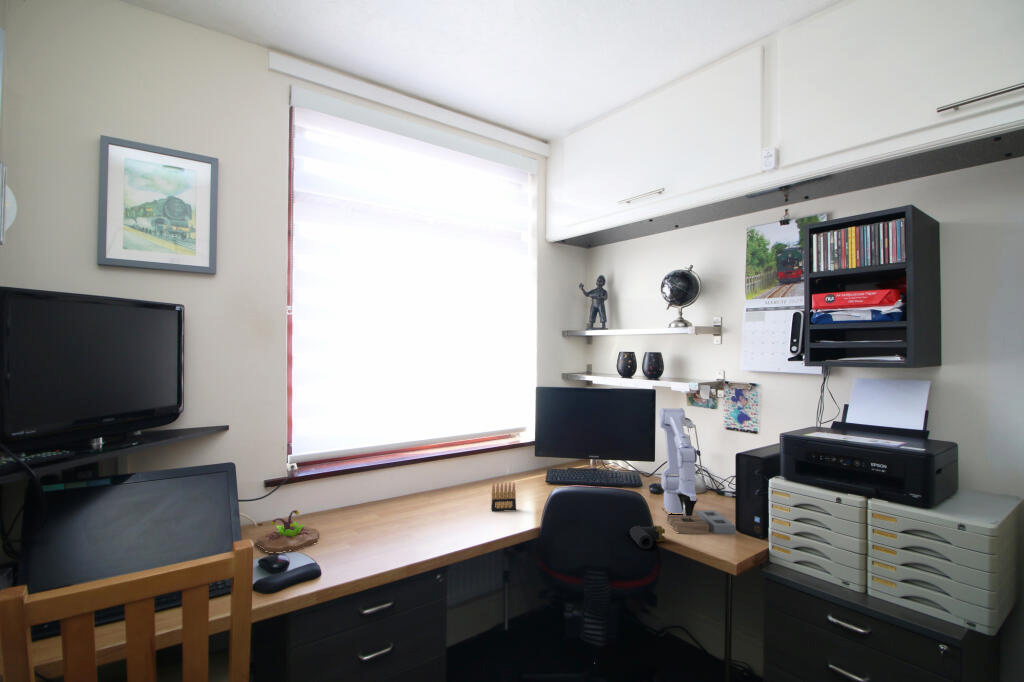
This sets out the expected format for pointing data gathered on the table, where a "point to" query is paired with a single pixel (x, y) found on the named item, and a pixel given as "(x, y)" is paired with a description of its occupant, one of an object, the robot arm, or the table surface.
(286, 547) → the plant
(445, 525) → the table surface
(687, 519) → the steel peg
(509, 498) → the ammunition clip
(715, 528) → the tool rack
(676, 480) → the robot arm
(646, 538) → the pipe connector
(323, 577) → the table surface
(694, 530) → the socket block
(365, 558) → the table surface
